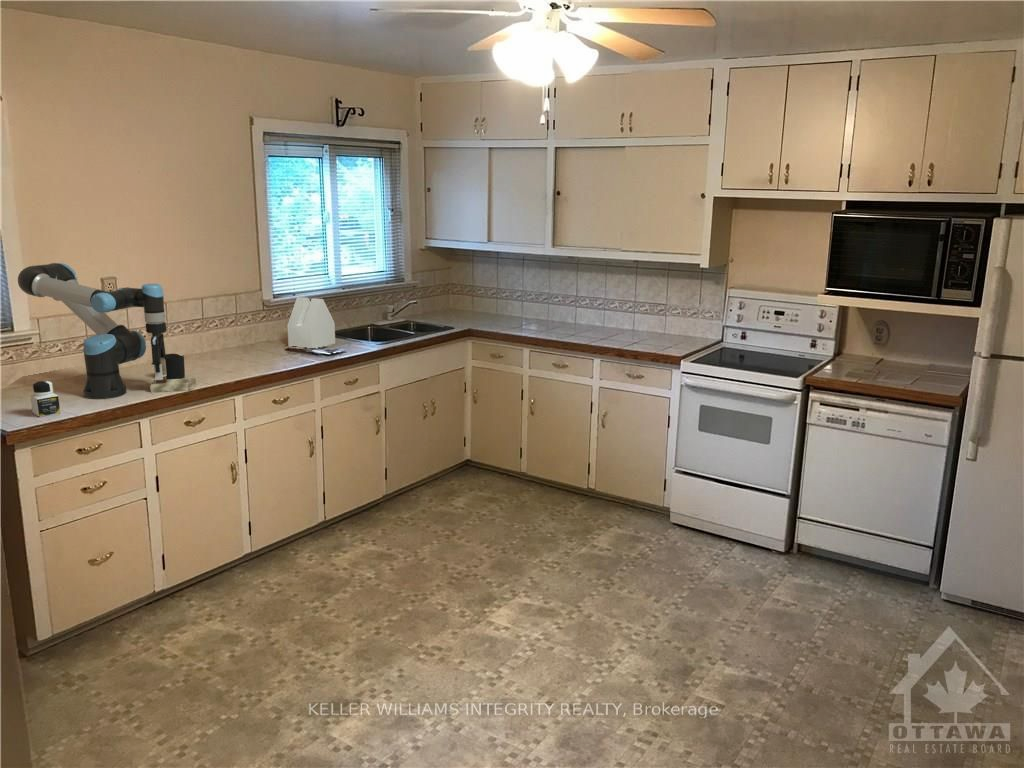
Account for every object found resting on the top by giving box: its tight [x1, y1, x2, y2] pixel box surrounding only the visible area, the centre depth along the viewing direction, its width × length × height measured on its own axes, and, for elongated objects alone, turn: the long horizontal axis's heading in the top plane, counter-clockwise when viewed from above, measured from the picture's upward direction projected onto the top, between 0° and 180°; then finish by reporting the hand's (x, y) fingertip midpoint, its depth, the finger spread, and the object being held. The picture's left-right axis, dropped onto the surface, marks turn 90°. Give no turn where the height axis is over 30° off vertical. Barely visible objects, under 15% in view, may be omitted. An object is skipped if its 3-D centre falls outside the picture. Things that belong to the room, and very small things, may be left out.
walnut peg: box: [156, 358, 167, 383], centre depth 320 cm, size 4×4×10 cm
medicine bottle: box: [29, 380, 61, 418], centre depth 285 cm, size 7×7×12 cm
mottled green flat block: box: [149, 377, 197, 393], centre depth 322 cm, size 16×9×3 cm, turn 104°
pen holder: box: [165, 353, 186, 379], centre depth 339 cm, size 9×9×10 cm
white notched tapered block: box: [286, 296, 336, 349], centre depth 409 cm, size 19×15×25 cm
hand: (161, 377), depth 320 cm, fingers open, 7 cm apart
